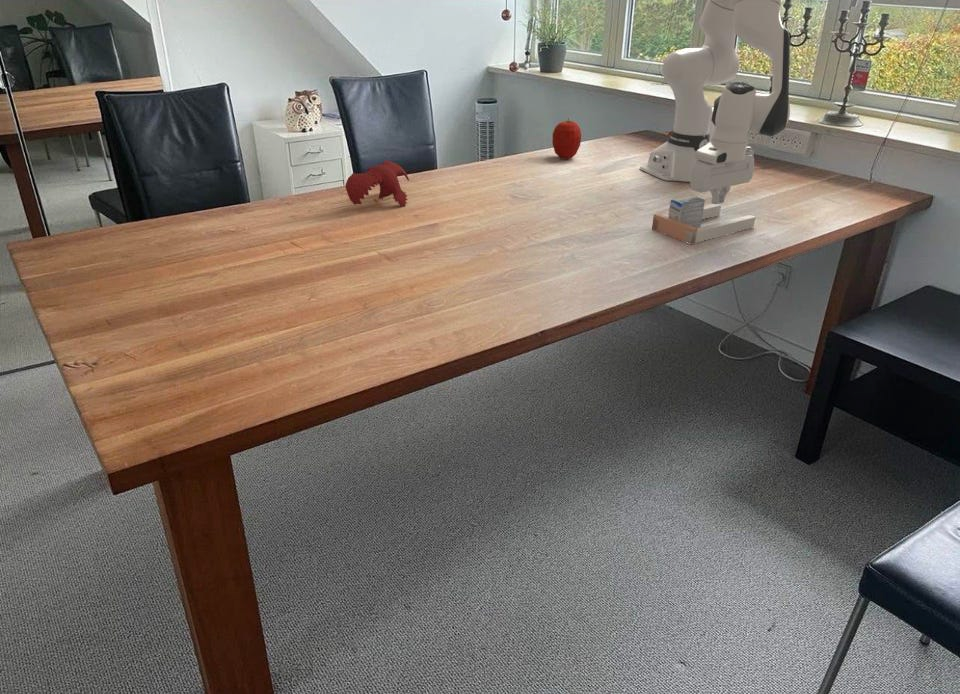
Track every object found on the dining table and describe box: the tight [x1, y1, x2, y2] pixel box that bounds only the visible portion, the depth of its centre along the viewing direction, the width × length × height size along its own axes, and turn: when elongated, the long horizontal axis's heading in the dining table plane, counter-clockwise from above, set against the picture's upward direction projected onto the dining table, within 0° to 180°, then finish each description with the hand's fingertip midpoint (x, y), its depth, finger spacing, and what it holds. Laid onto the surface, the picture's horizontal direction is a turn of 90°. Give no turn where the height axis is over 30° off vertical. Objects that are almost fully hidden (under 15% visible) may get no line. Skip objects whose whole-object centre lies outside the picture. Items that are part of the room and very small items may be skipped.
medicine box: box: [667, 195, 706, 228], centre depth 181 cm, size 8×4×9 cm, turn 119°
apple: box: [552, 117, 582, 160], centre depth 245 cm, size 10×10×14 cm
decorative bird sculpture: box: [345, 160, 410, 207], centre depth 199 cm, size 28×9×15 cm
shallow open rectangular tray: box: [651, 203, 756, 245], centre depth 185 cm, size 14×24×4 cm, turn 123°
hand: (717, 203), depth 186 cm, fingers closed
